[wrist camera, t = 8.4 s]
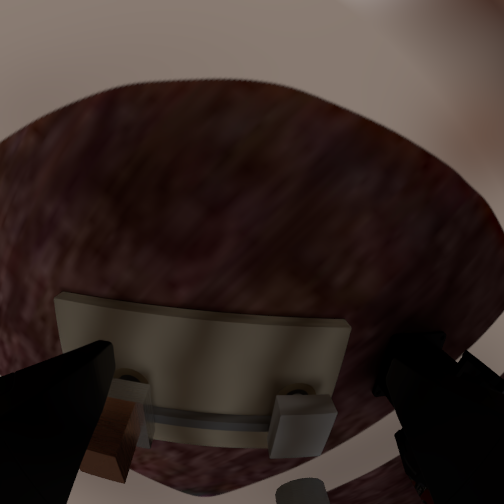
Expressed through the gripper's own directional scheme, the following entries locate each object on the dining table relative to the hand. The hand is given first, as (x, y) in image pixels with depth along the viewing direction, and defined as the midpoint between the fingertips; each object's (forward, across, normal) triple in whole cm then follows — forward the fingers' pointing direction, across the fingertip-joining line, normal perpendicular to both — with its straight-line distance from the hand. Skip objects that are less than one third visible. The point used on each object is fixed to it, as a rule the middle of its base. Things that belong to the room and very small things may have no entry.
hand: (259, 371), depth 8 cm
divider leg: (+10, +8, +11) cm, 17 cm away
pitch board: (+12, +3, +10) cm, 16 cm away
